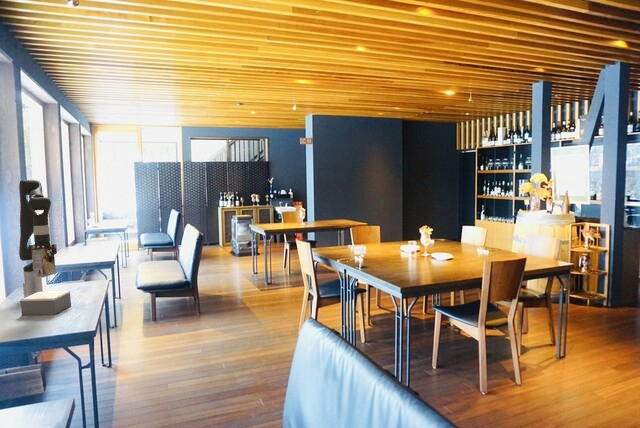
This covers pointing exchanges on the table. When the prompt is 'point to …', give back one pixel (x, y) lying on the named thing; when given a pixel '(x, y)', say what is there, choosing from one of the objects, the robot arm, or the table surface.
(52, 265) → the coffee box
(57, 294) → the lid
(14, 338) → the table surface
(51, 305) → the box
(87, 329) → the table surface
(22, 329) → the table surface
